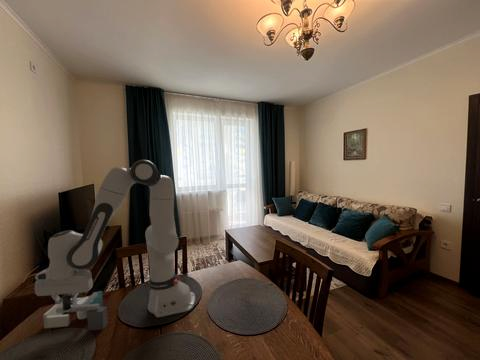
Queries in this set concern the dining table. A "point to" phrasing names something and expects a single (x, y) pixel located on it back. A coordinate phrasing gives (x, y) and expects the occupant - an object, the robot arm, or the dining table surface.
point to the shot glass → (81, 313)
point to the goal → (56, 317)
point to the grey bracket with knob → (89, 304)
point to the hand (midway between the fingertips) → (66, 302)
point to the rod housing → (97, 318)
